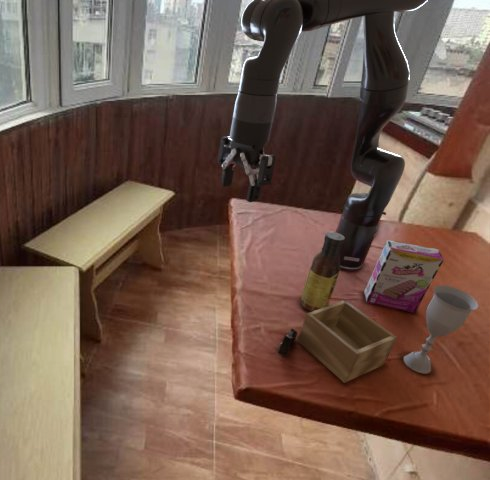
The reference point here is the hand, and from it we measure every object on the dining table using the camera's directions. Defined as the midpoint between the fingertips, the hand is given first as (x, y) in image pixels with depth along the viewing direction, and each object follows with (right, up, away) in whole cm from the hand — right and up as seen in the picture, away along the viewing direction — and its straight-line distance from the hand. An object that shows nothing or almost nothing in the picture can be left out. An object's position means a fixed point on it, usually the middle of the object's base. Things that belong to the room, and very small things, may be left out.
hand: (238, 193), depth 88 cm
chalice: (+38, -36, -1) cm, 52 cm away
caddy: (+22, -34, +1) cm, 41 cm away
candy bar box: (+43, -26, +17) cm, 53 cm away
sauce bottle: (+22, -26, +15) cm, 38 cm away
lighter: (+10, -34, +2) cm, 35 cm away
